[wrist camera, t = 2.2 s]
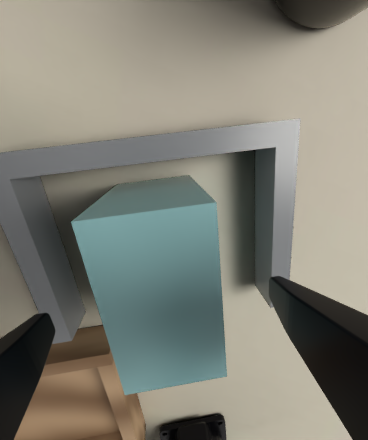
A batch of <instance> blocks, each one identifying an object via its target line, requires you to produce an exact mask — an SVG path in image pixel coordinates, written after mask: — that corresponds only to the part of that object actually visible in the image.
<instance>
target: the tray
mask: <svg viewBox="0 0 368 440" xmlns="http://www.w3.org/2000/svg"><path fill="white" fill-rule="evenodd" d="M145 431H146V424H145V420H144V417H143V413H142V410H141V406H140V403H139V399H138V396H137V393H134V394H128V395H125V394H124V391H123V387H122V384H121V381H120V378H119V375H118V371H117V368H116V365H115V362H114V359H113V355H112V352H111V349H110V346H109V343H108V339H107V336H106V333H105V330H104V327H103V325H101V326H95V327H89V328H83V329H77V331H76V334H75V336H74V338H73V340H72V341H68V342H62V343H56V344H52V345H51V348H50V351H49V354H48V357H47V360H46V363H45V366H44V369H43V372H42V375H41V378H40V380H39V383H38V385H37V387H36V390H35V392H34V394H33V397H32V399H31V401H30V403H29V406H28V408H27V410H26V413H25V415H24V417H23V420H22V422H21V424H20V427H19V429H18V431H17V434H16V436H15V438H14V440H145Z"/></svg>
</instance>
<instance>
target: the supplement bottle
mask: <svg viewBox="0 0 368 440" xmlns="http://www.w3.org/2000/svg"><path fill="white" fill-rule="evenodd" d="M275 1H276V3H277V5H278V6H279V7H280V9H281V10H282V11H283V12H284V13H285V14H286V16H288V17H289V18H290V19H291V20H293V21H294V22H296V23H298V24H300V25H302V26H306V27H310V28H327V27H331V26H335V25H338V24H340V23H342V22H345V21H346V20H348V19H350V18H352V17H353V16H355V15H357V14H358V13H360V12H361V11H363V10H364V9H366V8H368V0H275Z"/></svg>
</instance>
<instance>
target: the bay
mask: <svg viewBox="0 0 368 440" xmlns="http://www.w3.org/2000/svg"><path fill="white" fill-rule="evenodd" d="M299 133H300V119H291V120H282V121H273V122H265V123H256V124H247V125H238V126H229V127H221V128H212V129H203V130H194V131H186V132H177V133H168V134H159V135H151V136H142V137H133V138H124V139H116V140H107V141H98V142H89V143H81V144H72V145H63V146H54V147H46V148H37V149H28V150H19V151H11V152H2V153H0V224H1V226H2V228H3V231H4V233H5V235H6V237H7V240H8V242H9V244H10V247H11V249H12V251H13V254H14V256H15V258H16V261H17V263H18V265H19V267H20V270H21V272H22V274H23V277H24V279H25V281H26V284H27V286H28V288H29V291H30V293H31V295H32V298H33V300H34V302H35V304H36V307H37V309H38V311H39V314H40V313H48V314H49V315H50V317H51V319H52V322H53V324H54V326H55V336H54V339H53V342H52V344H56V343H62V342H68V341H72V340H73V338H74V336H75V334H76V331H77V329H78V327H79V325H80V323H81V321H82V319H83V316H84V314H85V312H86V311H85V308H84V305H83V302H82V299H81V296H80V294H79V291H78V288H77V285H76V282H75V279H74V276H73V273H72V270H71V267H70V264H69V261H68V258H67V255H66V252H65V249H64V246H63V243H62V240H61V237H60V234H59V231H58V228H57V226H56V223H55V220H54V217H53V214H52V211H51V208H50V205H49V202H48V199H47V196H46V193H45V190H44V187H43V184H42V181H41V178H40V176H42V175H50V174H58V173H67V172H75V171H83V170H91V169H99V168H108V167H116V166H124V165H132V164H141V163H149V162H157V161H165V160H174V159H182V158H190V157H198V156H206V155H215V154H223V153H231V152H239V151H248V150H255V286H256V287H257V289H258V290H259V292H260V293H261V295H262V296H263V297H264V299H265V300H266V302H267V303H268V305H269V306H270V308H272V307H274V306H273V304H272V302H271V300H270V298H269V278H270V277H274V276H281V277H284V278H286V279H288V280H289V279H290V264H291V250H292V235H293V220H294V206H295V191H296V177H297V162H298V147H299Z"/></svg>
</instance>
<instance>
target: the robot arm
mask: <svg viewBox="0 0 368 440" xmlns="http://www.w3.org/2000/svg"><path fill="white" fill-rule="evenodd" d="M269 298H270V300H271V302H272V304H273V306H274V308H275V311H276V313H277V315H278V317H279V319H280V321H281V323H282V325H283V327H284V329H285V331H286V333H287V334H288V336H289V338H290V340H291V341H292V343H293V344H294V346H295V348H296V349H297V351H298V352H299V354H300V356H301V357H302V359H303V360H304V362H305V364H306V365H307V367H308V368H309V370H310V372H311V373H312V375H313V376H314V378H315V380H316V381H317V383H318V385H319V386H320V388H321V389H322V391H323V393H324V394H325V396H326V397H327V399H328V401H329V402H330V404H331V405H332V407H333V409H334V410H335V412H336V413H337V415H338V417H339V418H340V420H341V421H342V423H343V425H344V426H345V428H346V430H347V431H348V433H349V434H350V436H351V438H352V439H353V440H368V315H366V314H364V313H362V312H359V311H357V310H355V309H353V308H350V307H348V306H346V305H344V304H342V303H339V302H337V301H335V300H333V299H330V298H328V297H326V296H324V295H321V294H319V293H317V292H315V291H313V290H310V289H308V288H306V287H304V286H301V285H299V284H297V283H295V282H293V281H290V280H288V279H286V278H284V277H281V276H274V277H270V278H269ZM54 336H55V326H54V324H53V322H52V319H51V317H50V315H49V314H48V313H40V314H36V315H34V316H33V317H31V318H30V319H28V320H27V321H25V322H24V323H22V324H21V325H20V326H18V327H17V328H15V329H14V330H12V331H11V332H9V333H8V334H7V335H5V336H4V337H2V338H1V339H0V440H14V438H15V436H16V434H17V431H18V429H19V427H20V424H21V422H22V420H23V417H24V415H25V413H26V410H27V408H28V406H29V403H30V401H31V399H32V397H33V394H34V392H35V390H36V387H37V385H38V383H39V380H40V378H41V375H42V372H43V369H44V366H45V363H46V360H47V357H48V354H49V351H50V348H51V345H52V342H53V339H54ZM160 439H161V440H226V428H225V420H224V416H223V415H217V416H212V417H207V418H202V419H196V420H191V421H186V422H181V423H176V424H171V425H166V426H162V427H161V428H160Z"/></svg>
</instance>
